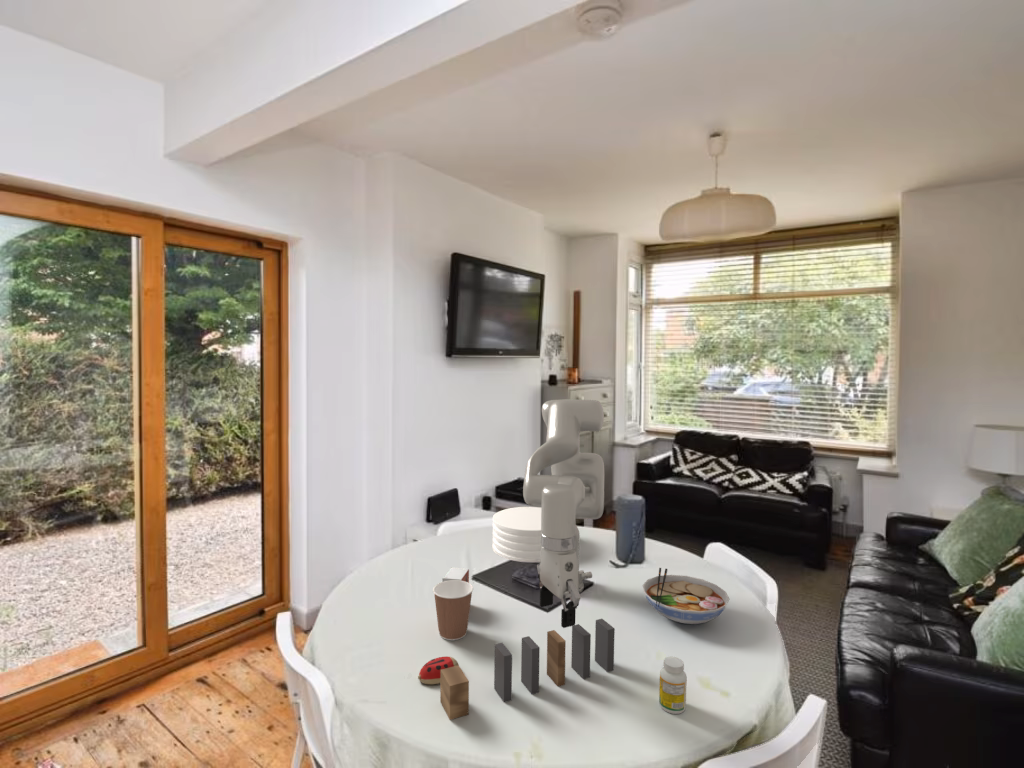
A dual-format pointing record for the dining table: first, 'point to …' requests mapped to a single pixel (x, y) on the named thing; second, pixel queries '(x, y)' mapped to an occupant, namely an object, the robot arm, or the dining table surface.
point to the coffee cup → (453, 608)
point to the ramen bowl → (685, 598)
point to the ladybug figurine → (435, 669)
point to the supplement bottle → (673, 686)
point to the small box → (457, 575)
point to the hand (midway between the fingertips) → (556, 615)
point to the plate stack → (518, 534)
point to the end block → (454, 692)
